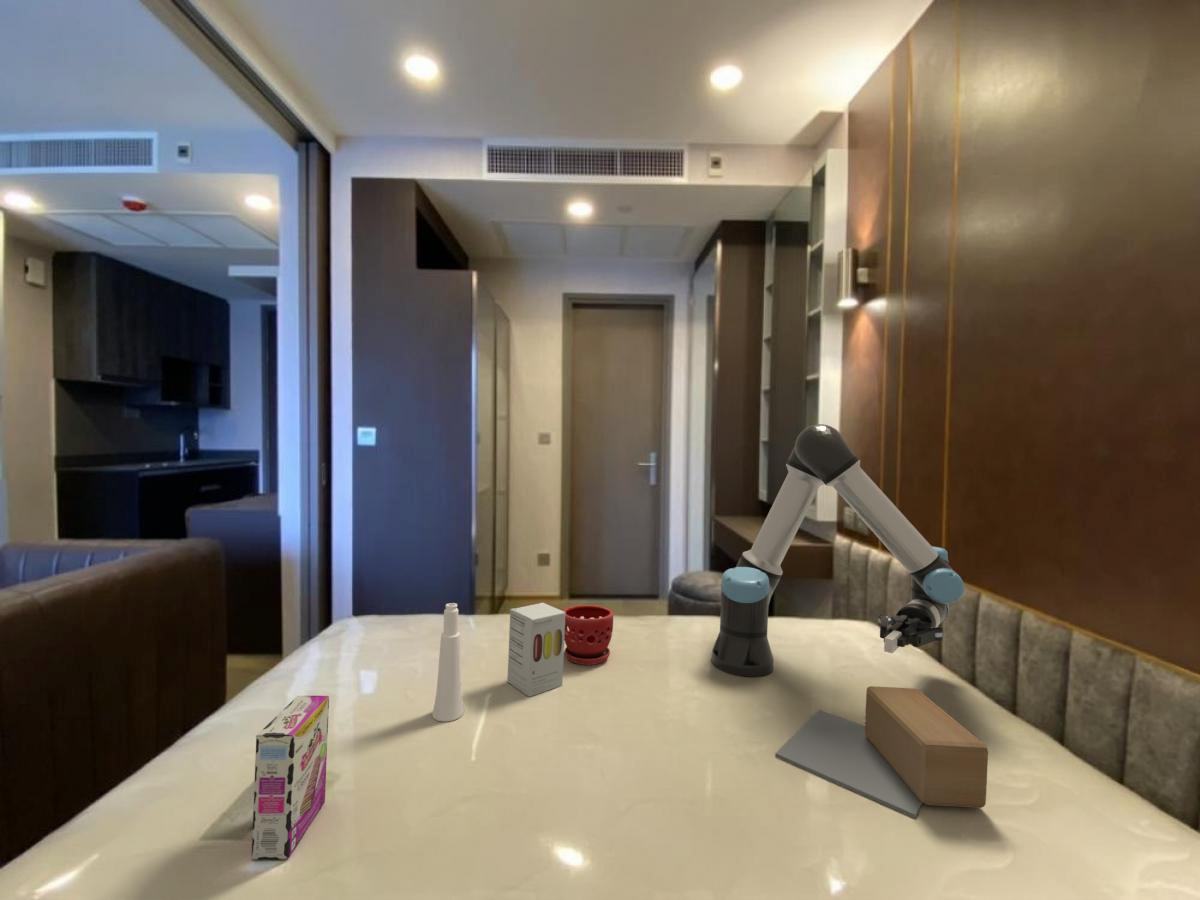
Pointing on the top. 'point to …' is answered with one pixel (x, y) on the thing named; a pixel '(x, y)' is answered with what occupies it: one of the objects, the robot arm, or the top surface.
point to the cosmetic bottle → (449, 670)
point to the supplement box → (536, 648)
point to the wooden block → (927, 747)
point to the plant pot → (588, 634)
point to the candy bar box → (289, 777)
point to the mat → (848, 761)
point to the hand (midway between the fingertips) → (888, 645)
